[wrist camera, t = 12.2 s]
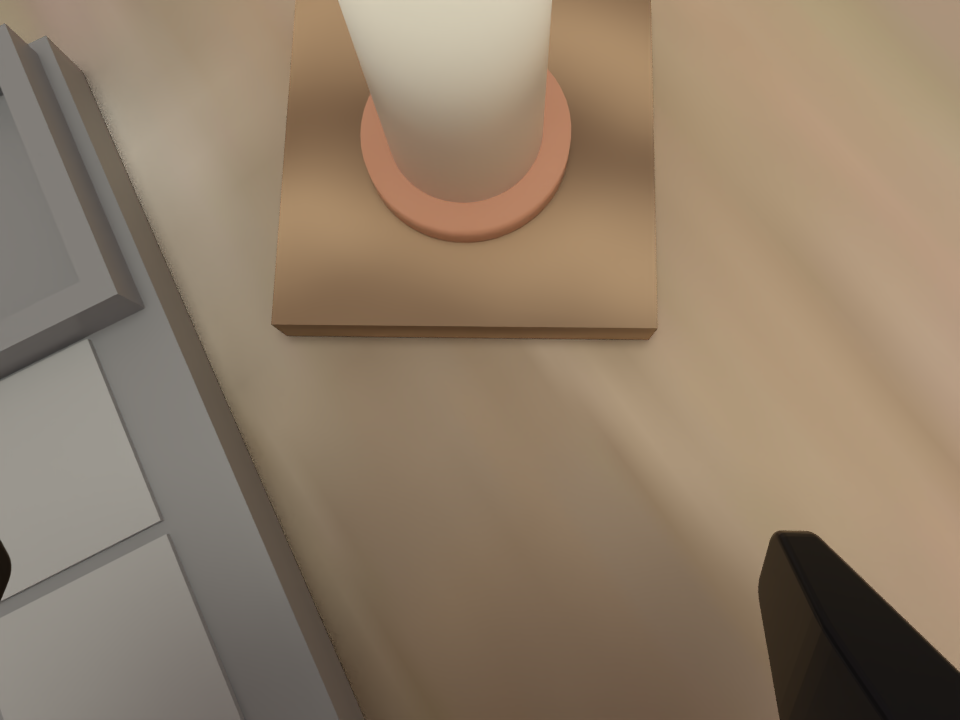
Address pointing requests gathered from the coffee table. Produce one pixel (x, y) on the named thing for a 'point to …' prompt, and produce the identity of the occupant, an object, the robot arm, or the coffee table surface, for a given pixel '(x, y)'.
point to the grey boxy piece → (125, 457)
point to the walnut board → (486, 264)
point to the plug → (460, 112)
